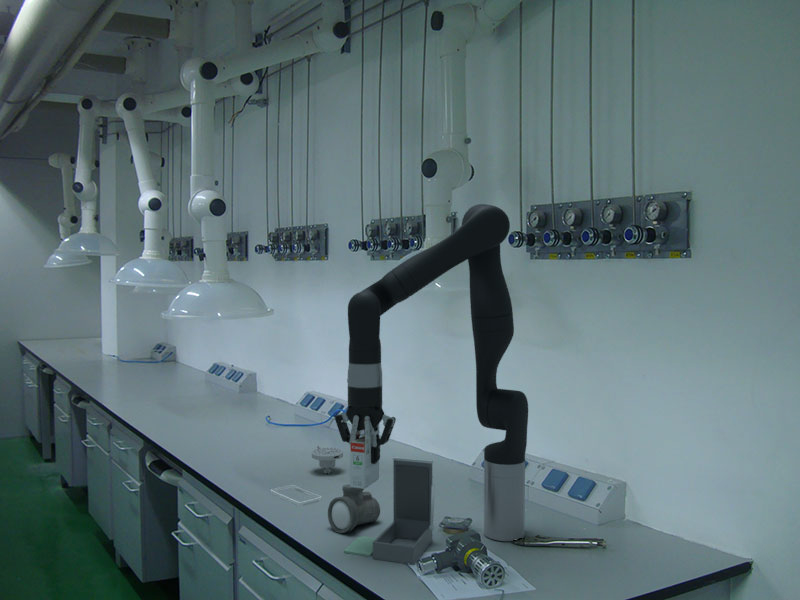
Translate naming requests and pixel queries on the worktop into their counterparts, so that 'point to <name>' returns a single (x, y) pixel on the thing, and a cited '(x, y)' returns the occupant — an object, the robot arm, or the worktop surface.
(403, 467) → the case
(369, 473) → the ink box
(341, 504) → the pipe fitting
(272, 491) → the phone case
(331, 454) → the showerhead
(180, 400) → the worktop surface
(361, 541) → the mat
